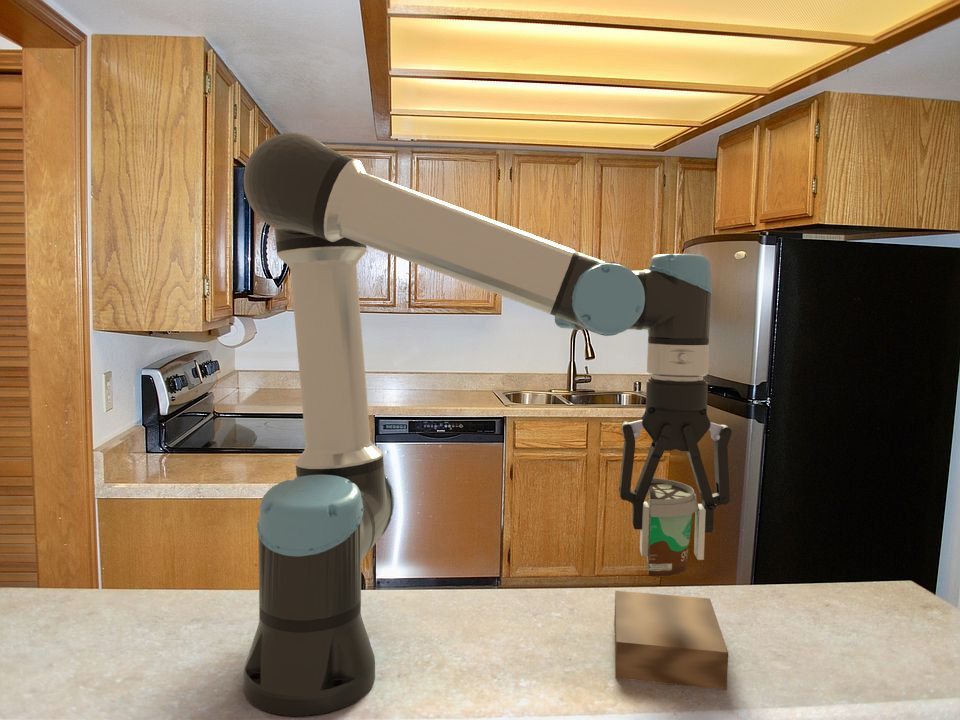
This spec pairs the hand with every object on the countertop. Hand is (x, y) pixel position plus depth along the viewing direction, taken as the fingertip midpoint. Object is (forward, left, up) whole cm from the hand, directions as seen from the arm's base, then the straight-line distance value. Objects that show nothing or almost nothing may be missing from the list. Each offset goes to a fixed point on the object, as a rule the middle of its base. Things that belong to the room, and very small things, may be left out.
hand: (671, 554), depth 95 cm
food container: (0, 0, -2) cm, 2 cm away
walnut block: (0, 0, -14) cm, 14 cm away
